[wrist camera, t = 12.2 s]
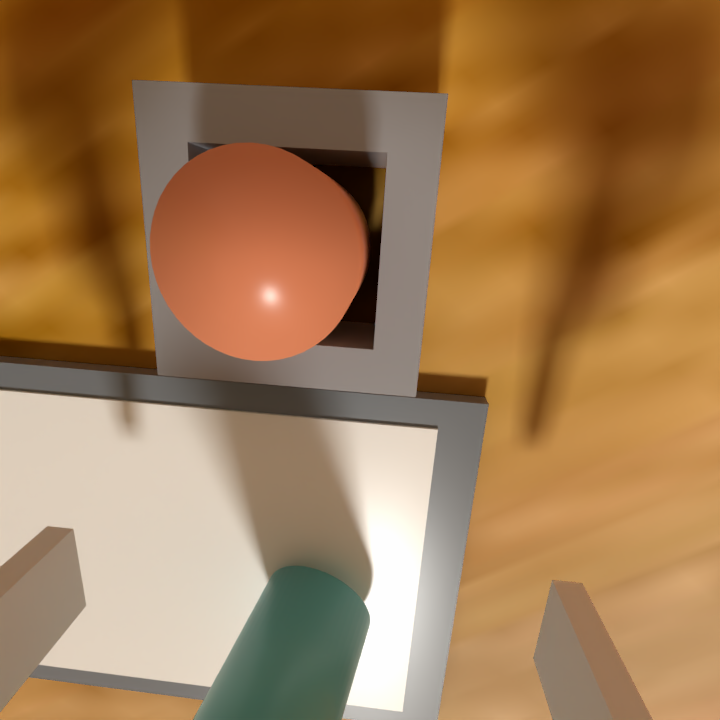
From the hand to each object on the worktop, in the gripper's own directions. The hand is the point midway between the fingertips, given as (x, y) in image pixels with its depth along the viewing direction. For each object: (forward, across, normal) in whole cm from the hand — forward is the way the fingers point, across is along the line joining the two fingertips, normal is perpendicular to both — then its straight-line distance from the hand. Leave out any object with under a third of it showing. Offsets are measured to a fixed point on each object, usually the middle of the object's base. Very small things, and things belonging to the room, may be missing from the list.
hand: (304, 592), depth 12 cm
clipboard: (+4, -5, -3) cm, 7 cm away
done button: (+3, -1, +9) cm, 9 cm away
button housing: (+4, -1, +9) cm, 10 cm away
